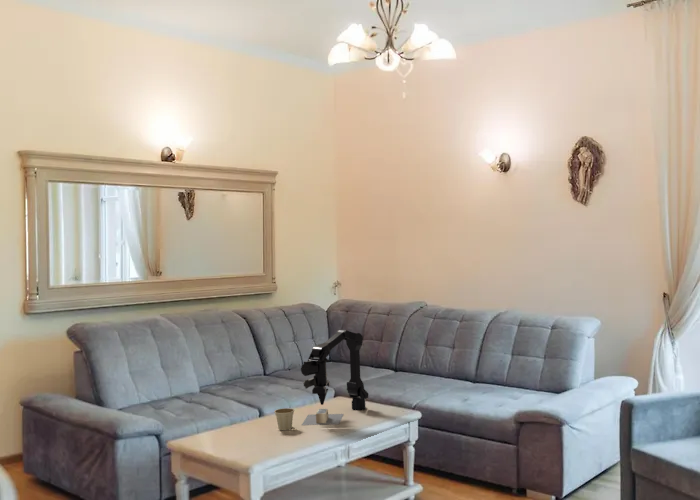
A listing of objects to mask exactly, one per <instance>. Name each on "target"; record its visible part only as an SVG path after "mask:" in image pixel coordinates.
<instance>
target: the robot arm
mask: <svg viewBox="0 0 700 500" xmlns="http://www.w3.org/2000/svg"><path fill="white" fill-rule="evenodd" d="M363 338H364V337H363V335H362V333H360V332H352V331H349V330H347V329H339V330H337V332H336V333H335V334H333V335H332V336H331V337H330V338H329V339H327V340H326V341H324V342H323V343H319V344H317V345H315V346H314V347H312V349H311V352H310V354H309V357H308V358H307V361H303V364H301V367H300V371H301V374H302V376H305V377H307V376H308V377H309V376H312V375H313V377H311V378H307V379H305V380H304V381H303V382H302V383H303V387H304V388H305V390H307V389H308V388H310V387H313V388H312V389H311V392H312V395H315V394H316V395H318V399H319V403H320V405H322V406H323V405H324V403H325V401H326V397H327V394H328V391H329V388H327V387H330V386H331V382H330V381H329V379H327V378H328V377H327V376H328V373H327V363H329V362H330V360H329V359H328V358H327V357H328V356H329V355H330V353H331V351H332V350H333V349H334V348H335V347H337V345H339V344H341V343H342V342H343V341H345V344H346V346H347V348H348V350H349V362H350V363H349V370H350V371H349V373H350V379H349V381H346V391H347V393H348V396H349V398H352V399H351V409H352V411H366V409H367V407H366V406H367V405H366V404H367V403H366V400H367V399H369V393H368V391H367V390H366V389H365V385H364V384H365V383H364V382H363V380H362V378H361V363H360V362H361V359H360V356H361V355H360V351H361V347H362V346H363V340H364V339H363Z"/></svg>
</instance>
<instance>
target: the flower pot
mask: <svg viewBox="0 0 700 500" xmlns="http://www.w3.org/2000/svg"><path fill="white" fill-rule="evenodd" d="M294 412H295V409H293V408H290V407H289V408H288V407H284V408H277V409H275V410H274V414H275V416H276V422H277V426H278V427H277V428H278V430H279V431H290V430H291V429H292V427H293V417H294V414H295V413H294Z"/></svg>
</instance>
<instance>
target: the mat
mask: <svg viewBox="0 0 700 500" xmlns="http://www.w3.org/2000/svg"><path fill="white" fill-rule="evenodd" d="M343 416H344V413H328V420H327V422H326V423H316V413H315V414H307V415H306V418H304V420H303V422H302V423H301V426H318V425H319V426H329V425H330V426H331V425H333V426H334V425H340V424H341V421H342V419H343Z"/></svg>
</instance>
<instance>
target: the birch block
mask: <svg viewBox="0 0 700 500" xmlns="http://www.w3.org/2000/svg"><path fill="white" fill-rule="evenodd" d="M315 414H316V423H326V422H327V420H328V414H329V408H318V410H317V412H316V413H315Z"/></svg>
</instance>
